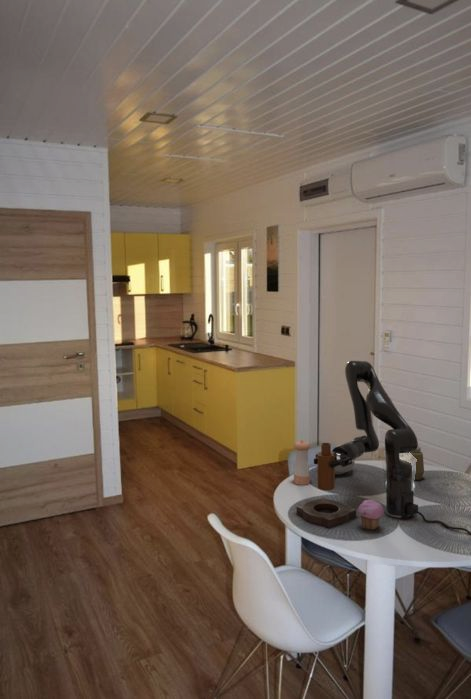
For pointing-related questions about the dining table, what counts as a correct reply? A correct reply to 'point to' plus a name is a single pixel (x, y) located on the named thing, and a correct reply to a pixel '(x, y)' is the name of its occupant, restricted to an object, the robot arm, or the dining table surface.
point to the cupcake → (370, 514)
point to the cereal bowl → (344, 468)
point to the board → (327, 519)
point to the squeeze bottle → (418, 463)
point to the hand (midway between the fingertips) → (322, 463)
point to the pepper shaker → (301, 463)
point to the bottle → (325, 468)
